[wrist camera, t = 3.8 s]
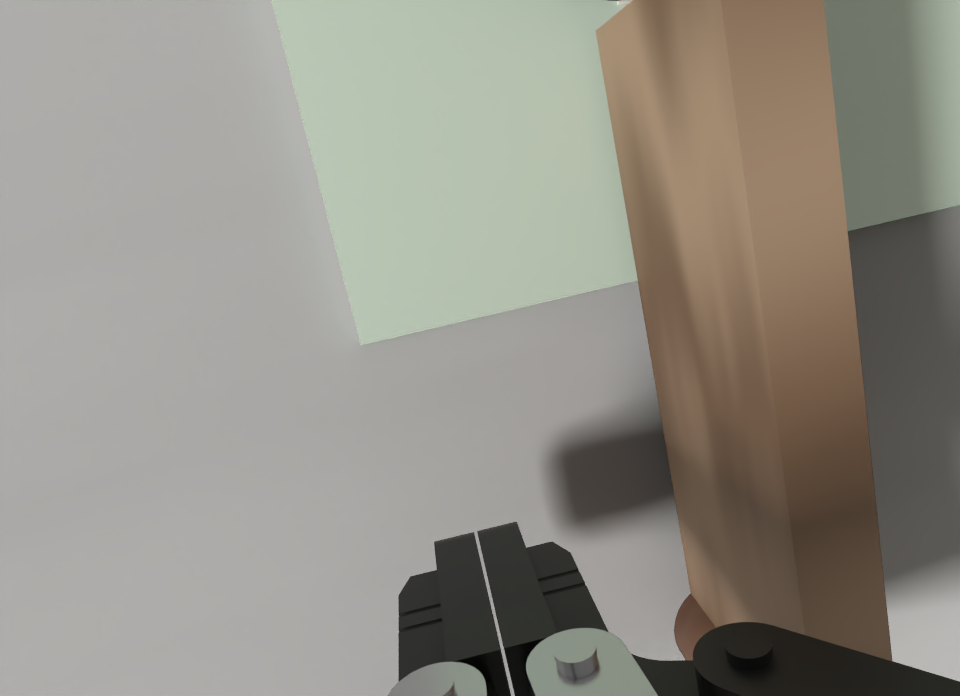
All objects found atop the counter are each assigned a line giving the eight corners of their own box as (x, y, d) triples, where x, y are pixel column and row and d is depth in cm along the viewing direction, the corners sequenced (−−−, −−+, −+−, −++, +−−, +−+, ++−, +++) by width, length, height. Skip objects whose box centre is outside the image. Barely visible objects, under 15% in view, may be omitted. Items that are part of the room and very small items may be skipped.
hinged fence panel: (541, -113, 13) (648, -340, 7) (666, -138, 13) (862, -377, 7) (682, 681, 16) (825, 926, 11) (779, 655, 16) (969, 884, 11)
